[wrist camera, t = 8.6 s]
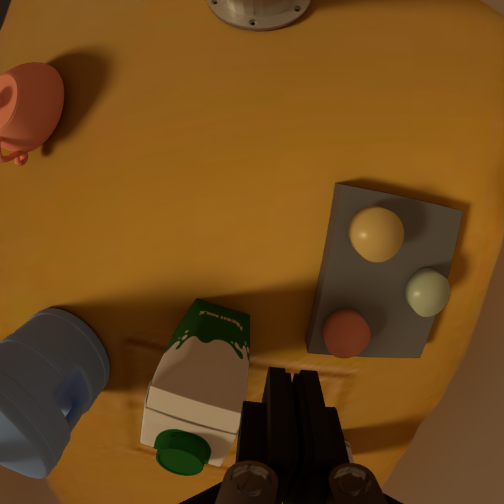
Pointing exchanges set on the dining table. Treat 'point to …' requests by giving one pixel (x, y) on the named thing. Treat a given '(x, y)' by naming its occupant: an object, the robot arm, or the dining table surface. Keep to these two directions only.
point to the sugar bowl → (28, 108)
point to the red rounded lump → (345, 333)
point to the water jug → (46, 388)
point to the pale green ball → (427, 292)
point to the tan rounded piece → (376, 233)
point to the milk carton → (198, 390)
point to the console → (381, 272)
